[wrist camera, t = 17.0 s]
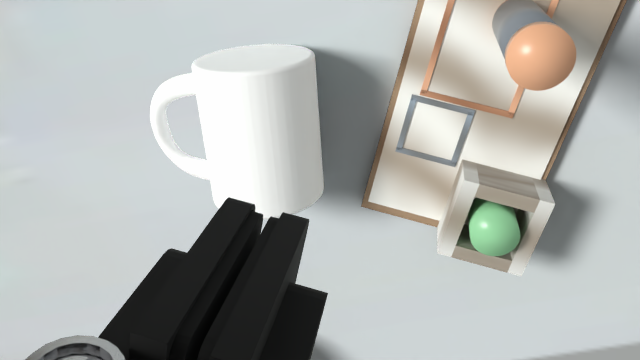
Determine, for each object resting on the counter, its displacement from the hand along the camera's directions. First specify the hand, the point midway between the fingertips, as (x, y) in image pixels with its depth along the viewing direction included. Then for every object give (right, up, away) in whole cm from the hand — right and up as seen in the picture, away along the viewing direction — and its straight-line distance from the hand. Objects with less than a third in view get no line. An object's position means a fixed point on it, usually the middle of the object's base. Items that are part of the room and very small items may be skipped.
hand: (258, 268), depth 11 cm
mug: (-4, +7, +31) cm, 32 cm away
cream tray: (+12, +8, +26) cm, 30 cm away
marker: (+13, +12, +23) cm, 29 cm away
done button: (+13, -1, +28) cm, 31 cm away
